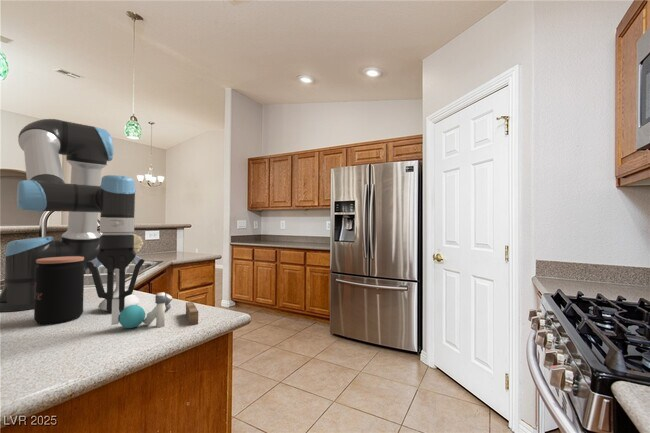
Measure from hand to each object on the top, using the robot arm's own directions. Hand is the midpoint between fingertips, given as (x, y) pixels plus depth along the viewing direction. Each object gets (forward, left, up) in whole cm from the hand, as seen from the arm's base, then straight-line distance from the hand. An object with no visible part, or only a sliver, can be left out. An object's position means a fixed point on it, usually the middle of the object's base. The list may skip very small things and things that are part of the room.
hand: (115, 322), depth 78 cm
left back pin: (-6, +8, -1) cm, 10 cm away
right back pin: (+3, +10, -2) cm, 11 cm away
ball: (0, +4, +1) cm, 4 cm away
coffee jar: (-19, -15, -2) cm, 24 cm away
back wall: (0, +19, -2) cm, 19 cm away
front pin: (0, +7, -1) cm, 7 cm away
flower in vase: (-23, 0, -2) cm, 23 cm away
